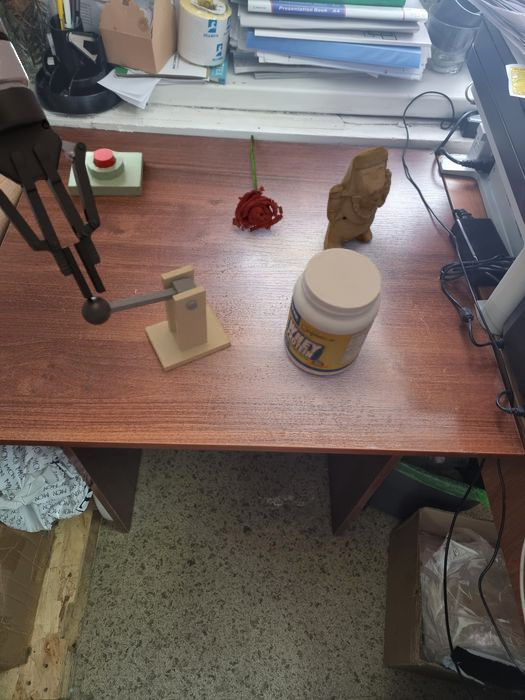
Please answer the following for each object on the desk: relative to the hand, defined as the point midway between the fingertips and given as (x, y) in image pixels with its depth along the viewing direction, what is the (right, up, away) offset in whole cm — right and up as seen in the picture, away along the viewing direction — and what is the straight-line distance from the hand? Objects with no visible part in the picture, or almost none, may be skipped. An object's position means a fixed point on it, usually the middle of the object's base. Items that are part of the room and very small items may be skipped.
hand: (95, 294), depth 63 cm
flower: (+21, +26, +37) cm, 50 cm away
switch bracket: (+9, -5, +16) cm, 20 cm away
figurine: (+36, +13, +30) cm, 49 cm away
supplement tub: (+30, -6, +18) cm, 36 cm away
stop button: (-9, +28, +32) cm, 43 cm away
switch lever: (+4, -2, +5) cm, 7 cm away
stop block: (-9, +26, +35) cm, 45 cm away
